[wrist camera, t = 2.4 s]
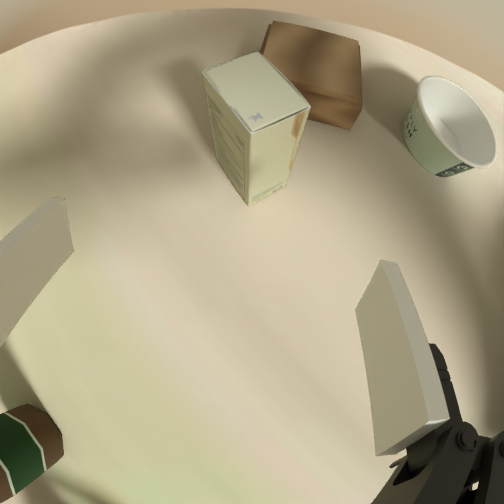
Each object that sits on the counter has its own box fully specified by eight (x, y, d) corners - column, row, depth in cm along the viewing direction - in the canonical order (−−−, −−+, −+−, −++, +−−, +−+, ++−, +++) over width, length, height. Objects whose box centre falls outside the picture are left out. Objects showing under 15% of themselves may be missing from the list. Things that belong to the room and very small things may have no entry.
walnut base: (350, 66, 31) (362, 40, 26) (349, 129, 29) (365, 103, 24) (266, 46, 31) (269, 18, 26) (249, 107, 29) (251, 76, 24)
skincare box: (287, 186, 27) (317, 110, 15) (247, 208, 27) (253, 139, 15) (251, 136, 28) (258, 47, 16) (213, 155, 28) (199, 68, 16)
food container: (386, 93, 30) (408, 61, 24) (457, 119, 31) (482, 96, 24) (398, 176, 28) (430, 149, 22) (473, 197, 29) (506, 179, 22)
